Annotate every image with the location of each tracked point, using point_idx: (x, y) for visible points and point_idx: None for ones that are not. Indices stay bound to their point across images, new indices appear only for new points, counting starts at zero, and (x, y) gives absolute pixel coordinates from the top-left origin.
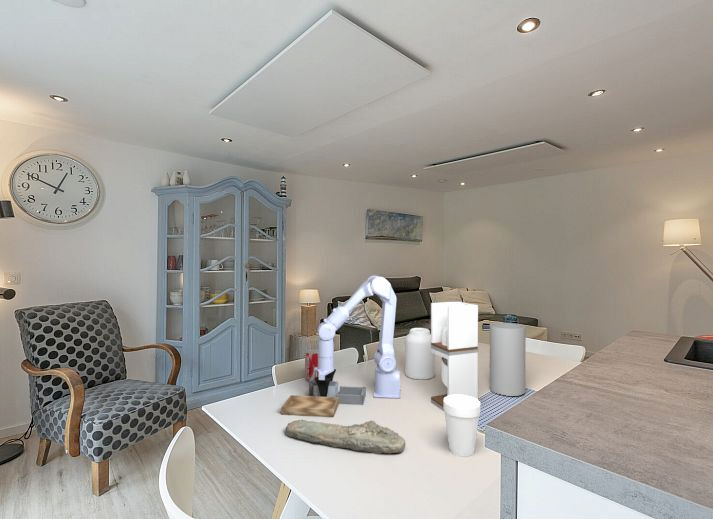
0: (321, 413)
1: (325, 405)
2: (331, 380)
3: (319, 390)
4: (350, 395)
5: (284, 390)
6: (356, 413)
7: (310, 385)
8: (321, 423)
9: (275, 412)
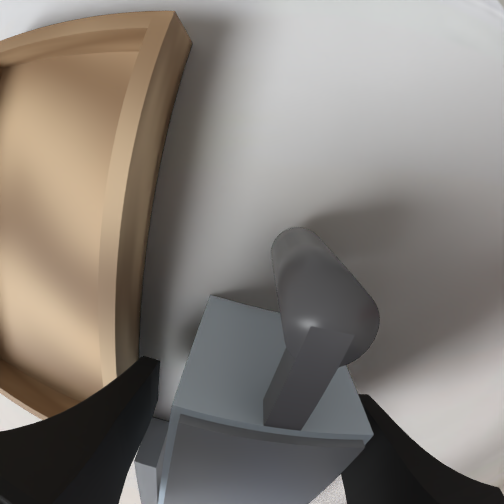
0: None
1: (86, 357)
2: (349, 500)
3: (96, 395)
4: (140, 498)
5: (467, 26)
6: None
7: (282, 299)
8: None
9: (40, 12)
